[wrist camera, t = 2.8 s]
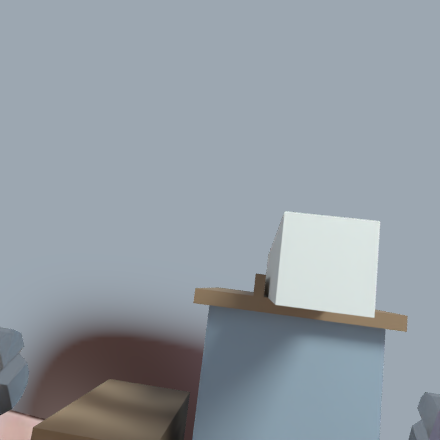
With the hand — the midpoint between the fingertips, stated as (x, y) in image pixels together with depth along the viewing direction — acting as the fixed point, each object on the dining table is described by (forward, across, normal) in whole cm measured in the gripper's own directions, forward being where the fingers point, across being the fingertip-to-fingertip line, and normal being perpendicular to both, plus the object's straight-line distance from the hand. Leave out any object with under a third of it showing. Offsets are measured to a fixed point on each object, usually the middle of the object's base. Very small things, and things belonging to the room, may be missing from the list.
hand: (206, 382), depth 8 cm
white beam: (+18, +3, -9) cm, 21 cm away
